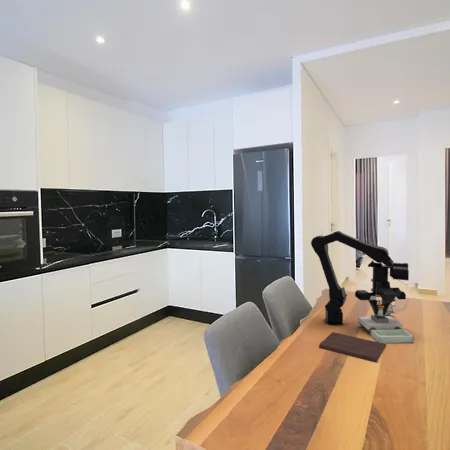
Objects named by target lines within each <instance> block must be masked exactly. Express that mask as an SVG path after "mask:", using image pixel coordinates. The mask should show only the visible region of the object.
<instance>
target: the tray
mask: <svg viewBox="0 0 450 450" xmlns="http://www.w3.org/2000/svg"><path fill="white" fill-rule="evenodd" d="M370 337H371V338H372V339H373V340H375V342H379V343H384V344H386V345H387V344H414V340H415V339H414V335H413V334H411V333H410V332H408V331H407V330H406V329H403V328H402V329H377V330H371V334H370Z"/></svg>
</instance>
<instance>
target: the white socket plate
mask: <svg viewBox="0 0 450 450" xmlns="http://www.w3.org/2000/svg"><path fill="white" fill-rule="evenodd" d="M357 321H358V323H359V325H360V326H361V327H362V326H363V327H364V328H365V329H366V330H367V332H368V333H369V334H370V335H371V330H389V329H403V323H401V321H398V320H397V319H395V318H394V317H392V315H391V316H390V315H388V316H384V315H383V318H377V315H375V314H371V315H370V316H358V319H357Z"/></svg>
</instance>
